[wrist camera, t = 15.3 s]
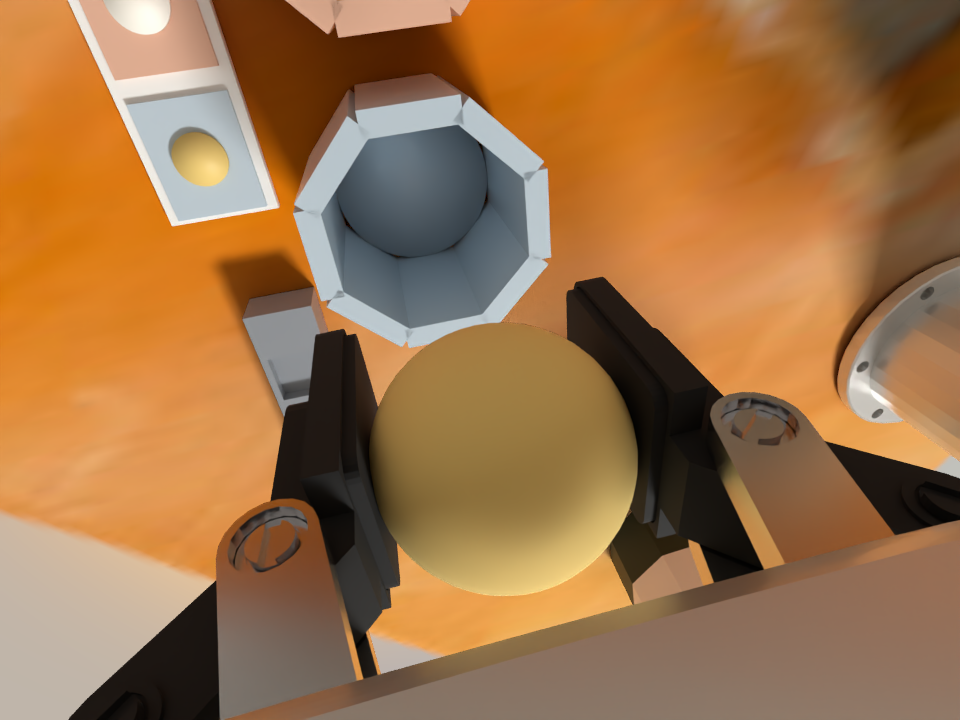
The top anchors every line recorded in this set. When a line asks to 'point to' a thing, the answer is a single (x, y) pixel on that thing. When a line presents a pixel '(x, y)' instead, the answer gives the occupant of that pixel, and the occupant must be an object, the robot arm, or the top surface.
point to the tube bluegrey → (421, 211)
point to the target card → (180, 104)
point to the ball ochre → (503, 459)
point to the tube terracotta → (376, 14)
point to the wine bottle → (652, 562)
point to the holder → (286, 340)
